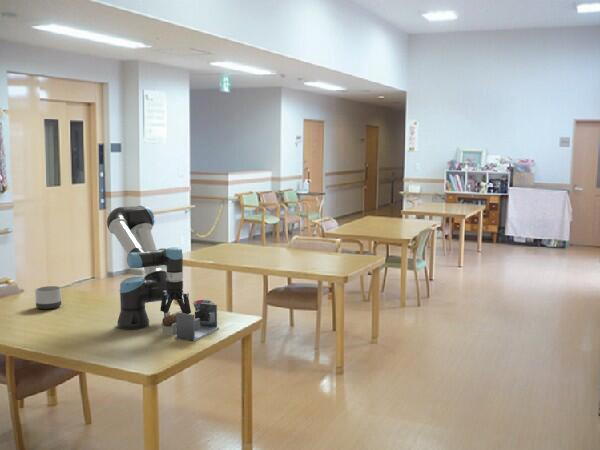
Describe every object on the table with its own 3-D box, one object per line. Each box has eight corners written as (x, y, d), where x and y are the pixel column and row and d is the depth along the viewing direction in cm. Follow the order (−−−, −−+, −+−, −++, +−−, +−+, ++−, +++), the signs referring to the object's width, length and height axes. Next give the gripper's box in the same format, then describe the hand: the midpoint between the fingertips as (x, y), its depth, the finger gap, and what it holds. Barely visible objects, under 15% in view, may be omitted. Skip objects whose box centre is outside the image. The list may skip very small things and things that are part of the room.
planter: (44, 304, 349) (43, 285, 348) (65, 305, 348) (65, 286, 346) (31, 310, 337) (30, 291, 336) (53, 311, 335) (52, 291, 334)
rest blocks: (161, 333, 295) (161, 323, 294) (178, 326, 308) (178, 315, 307) (173, 335, 292) (173, 324, 292) (189, 327, 305) (189, 317, 305)
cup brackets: (176, 338, 288) (176, 313, 286) (201, 326, 307) (200, 302, 305) (193, 341, 284) (193, 315, 283) (217, 328, 303) (216, 304, 302)
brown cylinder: (170, 327, 292) (170, 317, 291) (162, 326, 294) (162, 316, 293) (188, 319, 306) (188, 310, 305) (180, 318, 307) (180, 309, 307)
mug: (199, 326, 307) (199, 305, 306) (189, 322, 314) (189, 301, 313) (220, 322, 315) (219, 301, 314) (209, 318, 322) (209, 298, 321)
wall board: (174, 338, 288) (174, 336, 288) (199, 326, 307) (199, 324, 307) (195, 341, 284) (195, 339, 284) (219, 329, 303) (219, 327, 303)
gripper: (151, 279, 298) (152, 326, 300) (189, 283, 290) (190, 331, 292) (160, 277, 305) (162, 322, 307) (198, 280, 296) (199, 327, 299)
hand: (175, 326), depth 300 cm, fingers open, 8 cm apart
